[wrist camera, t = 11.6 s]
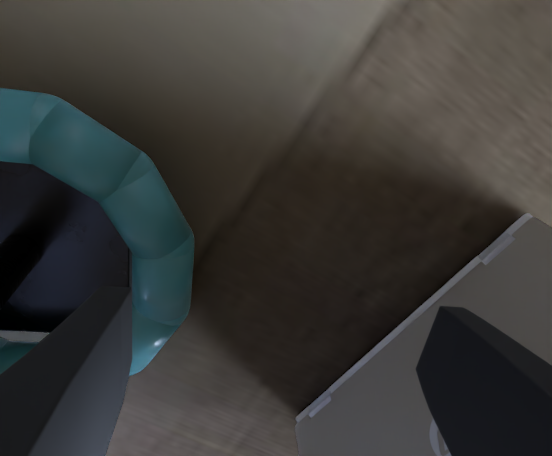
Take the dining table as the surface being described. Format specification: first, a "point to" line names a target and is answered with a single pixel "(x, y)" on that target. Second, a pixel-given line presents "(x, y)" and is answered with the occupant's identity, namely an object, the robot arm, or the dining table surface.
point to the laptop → (409, 345)
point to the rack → (52, 249)
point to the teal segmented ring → (108, 209)
